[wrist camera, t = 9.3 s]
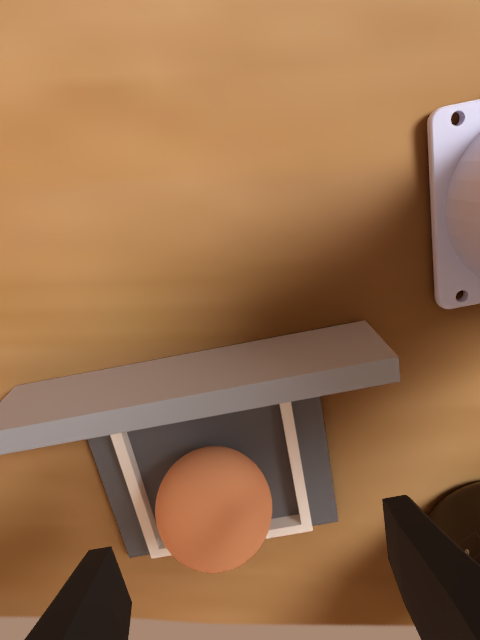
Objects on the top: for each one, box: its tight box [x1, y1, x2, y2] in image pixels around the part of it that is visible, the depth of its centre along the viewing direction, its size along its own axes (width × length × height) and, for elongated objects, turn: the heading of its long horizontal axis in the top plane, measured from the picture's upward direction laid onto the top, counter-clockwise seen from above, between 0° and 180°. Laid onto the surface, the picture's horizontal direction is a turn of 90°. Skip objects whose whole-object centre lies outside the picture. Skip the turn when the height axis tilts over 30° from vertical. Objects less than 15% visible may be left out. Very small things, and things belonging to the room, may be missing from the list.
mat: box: [87, 396, 338, 559], centre depth 21 cm, size 11×9×1 cm
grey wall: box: [0, 320, 401, 455], centre depth 18 cm, size 16×1×4 cm, turn 101°
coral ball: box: [155, 446, 272, 573], centre depth 19 cm, size 5×5×5 cm
